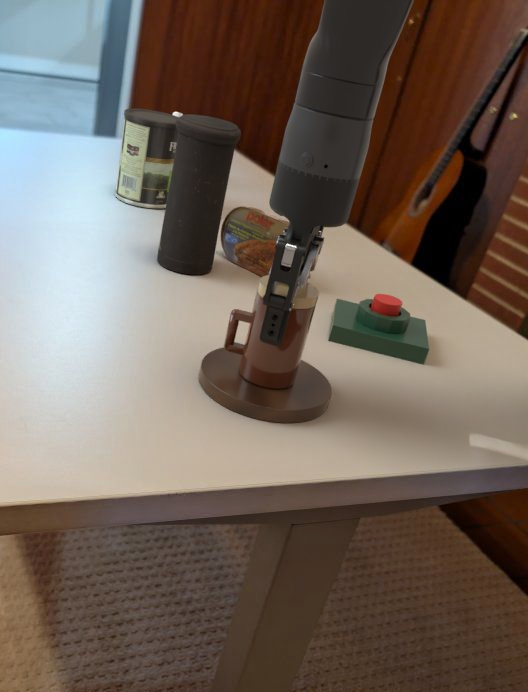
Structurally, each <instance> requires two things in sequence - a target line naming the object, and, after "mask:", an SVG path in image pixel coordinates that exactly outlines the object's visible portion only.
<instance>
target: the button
mask: <svg viewBox="0 0 528 692" xmlns="http://www.w3.org/2000/svg"><path fill="white" fill-rule="evenodd" d="M372 299H373V302H372V305H371V308H370V309H372V310H373V311H375V312H377V313H379V314H382V315H387V316H392V317H398V315H399V312H400V310H401V307H402V308H403V301H402V300H401V299H400V298H398V297H396V296H394V295H390V294H386V293H376V294H374V296H373V298H372Z"/></svg>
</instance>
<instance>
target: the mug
mask: <svg viewBox="0 0 528 692" xmlns="http://www.w3.org/2000/svg"><path fill="white" fill-rule="evenodd" d="M268 280H269V275H266V276H263V277H261V276H260V278H259V281H258V285H257V288H256V293H255V299H254V301H253V305H252V306H253V307H252V311H248V310H247V311H246V310H243V309H239V308H236V309H235V308H234V309H232V310H231V312H230V315H229V320H228V324H227V328H226V334H225V337H224V343H223V347H224V348H225V350H227V351H229V352H233V353H237V354H241V355H242V358H241V362H240V367H239V371H240V374H241V375H242V376H243V377H244V378H245V379H246V380H248V381H250V382H252V383H254V384H256V385H259V386H262V387H266V388H273V389H282V388H287V387H290V386H292V385H293V384H294V382H295V379H296V375H297V372H298V368H299V365H300V361H301V360H302V357H303V353H304V350H305V346H306V343H307V340H308V335H309V332H310V328H311V325H312V321H313V317H314V314H315V311H316V307H317V304H318V300H319V296H320V290H319V289H318V288H317V287H316V286H314V285H313V284H312V283H310V282H309V281H308V282H306V284H305V287H304V288H303V289H302V290H299V291H298V292H297V294H296V297H295V300H294V303H295V304H294V308H292V310H291V312H290V315H289V319H288V323H287V327H286V330H285V334H284V338H283V341H282V343H281V345H279V346H274V345H270V344H267V343H264V342H262V341H261V340H260V333H261V329H262V324H263V320H264V316H265V312H266V308H267V305H263V296H264V295H265V292H266V288H267V284H268ZM288 290H289V287H287V286H283V285H278V286H277V289H276V292H275V294H278V295H282V296H285V297H287V293H288ZM239 322H243V323H247V324H248V328H247V331H246V336H245V341H244V343H239V342H236V337H237V332H238V327H239V324H240V323H239Z"/></svg>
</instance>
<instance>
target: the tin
mask: <svg viewBox="0 0 528 692" xmlns="http://www.w3.org/2000/svg"><path fill="white" fill-rule="evenodd" d="M289 223H290V222H289V220H288V221H287V220H286V219H283V218H281V217H278V216H276V215H273V214H271V213H269V212H266V211H264V210H262V209H259V208H257V207H251V206H243V205H242V206H237V207H234V208H233V209H231V210H230V211H229V212H228V213H227V215H226V216H225V217H224V219H223V220H222V224H221V228H220V244H221V248H222V251H223V253H224V255H225V257H226V258H227V259H228V260H229V261H230V262H231V263H233V264H234V265H236V266H238V267H240V268H243V269H245V270H246V271H249V272H252V273H253V274H255V275H257V276H259V277H260V278H261V277H263V276H266V275H269V273H270V270H271V266H272V263H273V259H274V255H275V251H276V249H275V246H276V243H277V240H278V237H279V234H283V231H284V228H285V227H286V228H288V227H289Z"/></svg>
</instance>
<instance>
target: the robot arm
mask: <svg viewBox="0 0 528 692" xmlns="http://www.w3.org/2000/svg"><path fill="white" fill-rule="evenodd" d="M414 1H415V0H324V3H323V6H322V10H321V15H320V19H319V23H318V28H317V31H316V32H315V33H314V35H313V37H312V38H311V40H310V42H309V44H308V47H307V49H306V53H305V55H304V56H305V57H304V60H303V63H302V68H301V73H300V77H299V82H298V87H297V90H296V96H295V99H294V100H295V101H294V103H293V107H292V110H291V113H290V116H289V118H288V121H287V124H286V127H285V131H284V134H283V139H282V144H281V148H280V152H279V157H278V161H277V165H276V170H275V174H274V179H273V183H272V188H271V191H270V192H271V193H270V197H269V208H270V209H271V210H272V211H273V212H274V213H275V214H277V215H278V216H280V217H284V218H285V219H287V220H288V222H290V223H289V227H288V228H286V227H285V228H284V231H283V234H279V237H278V240H277V243H276V246H275V249H276V251H275V255H274V259H273V263H272V266H271V270H270V273H269V280H268V284H267V288H266V292H265V295H264V296H263V305H267V308H266V312H265V316H264V320H263V324H262V329H261V333H260V340H261V341H262V342H264V343H267V344H270V345H274V346H279V345H281V343H282V341H283V338H284V334H285V330H286V327H287V323H288V319H289V315H290V312H291V310H292V308H294V304H295V303H294V300H295V297H296V294H297V292H298V291H299V290H302V289H303V288H304V287H305V284H306V282H308V283H309V280H311V276H312V274H311V272H314V271H315V269H316V266H317V263H318V260H319V255H320V254H321V252H322V249H323V247H324V243H325V237H324V236H323V232H324V228H339V227H342V226H344V225H345V224H346V223H348V221H349V218H350V215H351V211H352V209H353V205H354V201H355V198H356V194H357V190H358V187H359V183H360V181H361V180H360V179H361V176H362V173H363V169H364V165H365V162H366V158H367V155H368V150H369V147H370V142H371V141H370V140H371V135H372V128H373V124H374V118H375V117H376V116H375V115H376V112H377V109H378V105H379V103H380V99H381V95H382V91H383V87H384V83H385V79H386V76H387V70H388V66H389V63H390V59H391V56H392V54H393V51H394V49H395V46H396V45H397V43H398V40H399V38H400V35H401V33H402V31H403V29H404V26H405V23H406V21H407V18H408V16H409V13H410V11H411V8H412V6H413V4H414ZM278 285H283V286H287V287H289V290H288V293H287V297H285V296H282V295H278V294H275V292H276V289H277V286H278Z"/></svg>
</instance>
